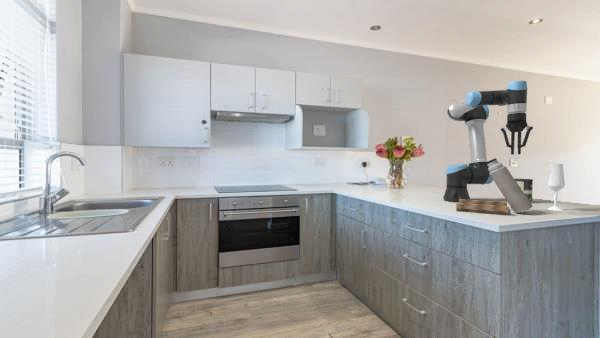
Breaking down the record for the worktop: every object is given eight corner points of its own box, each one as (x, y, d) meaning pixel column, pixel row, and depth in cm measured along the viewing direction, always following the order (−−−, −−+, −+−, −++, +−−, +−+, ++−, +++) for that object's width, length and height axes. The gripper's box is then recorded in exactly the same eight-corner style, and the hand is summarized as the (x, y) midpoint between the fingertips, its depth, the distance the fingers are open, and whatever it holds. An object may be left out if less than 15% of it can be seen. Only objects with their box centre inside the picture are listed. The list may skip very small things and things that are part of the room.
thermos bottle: (511, 213, 144) (479, 165, 151) (526, 206, 143) (493, 158, 151) (521, 212, 136) (487, 161, 143) (536, 205, 136) (501, 154, 143)
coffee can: (531, 201, 176) (531, 178, 175) (533, 203, 167) (534, 180, 166) (510, 200, 181) (510, 178, 180) (511, 202, 172) (512, 179, 172)
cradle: (506, 209, 151) (506, 202, 151) (508, 215, 136) (508, 207, 136) (459, 206, 163) (459, 199, 163) (456, 211, 148) (456, 203, 148)
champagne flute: (560, 208, 151) (561, 163, 150) (567, 211, 145) (568, 163, 144) (544, 208, 153) (545, 163, 152) (550, 210, 147) (551, 164, 146)
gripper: (500, 113, 140) (499, 161, 142) (534, 111, 133) (533, 161, 134) (500, 115, 147) (499, 161, 148) (532, 112, 139) (531, 161, 141)
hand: (515, 161), depth 141 cm, fingers closed
